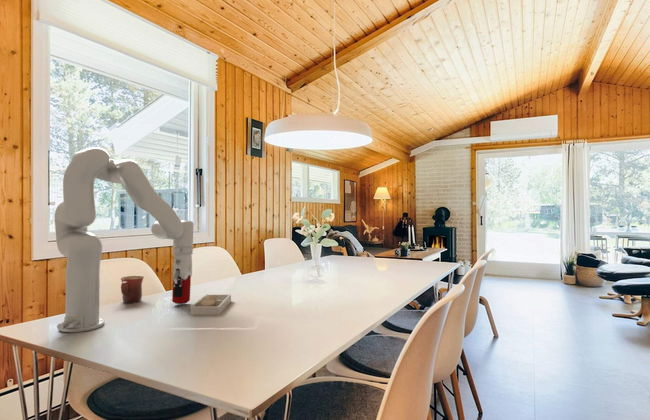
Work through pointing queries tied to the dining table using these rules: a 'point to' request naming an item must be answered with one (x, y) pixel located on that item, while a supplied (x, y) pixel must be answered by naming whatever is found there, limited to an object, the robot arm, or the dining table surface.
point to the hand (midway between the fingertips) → (181, 294)
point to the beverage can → (183, 292)
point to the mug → (131, 288)
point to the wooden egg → (208, 301)
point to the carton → (211, 310)
